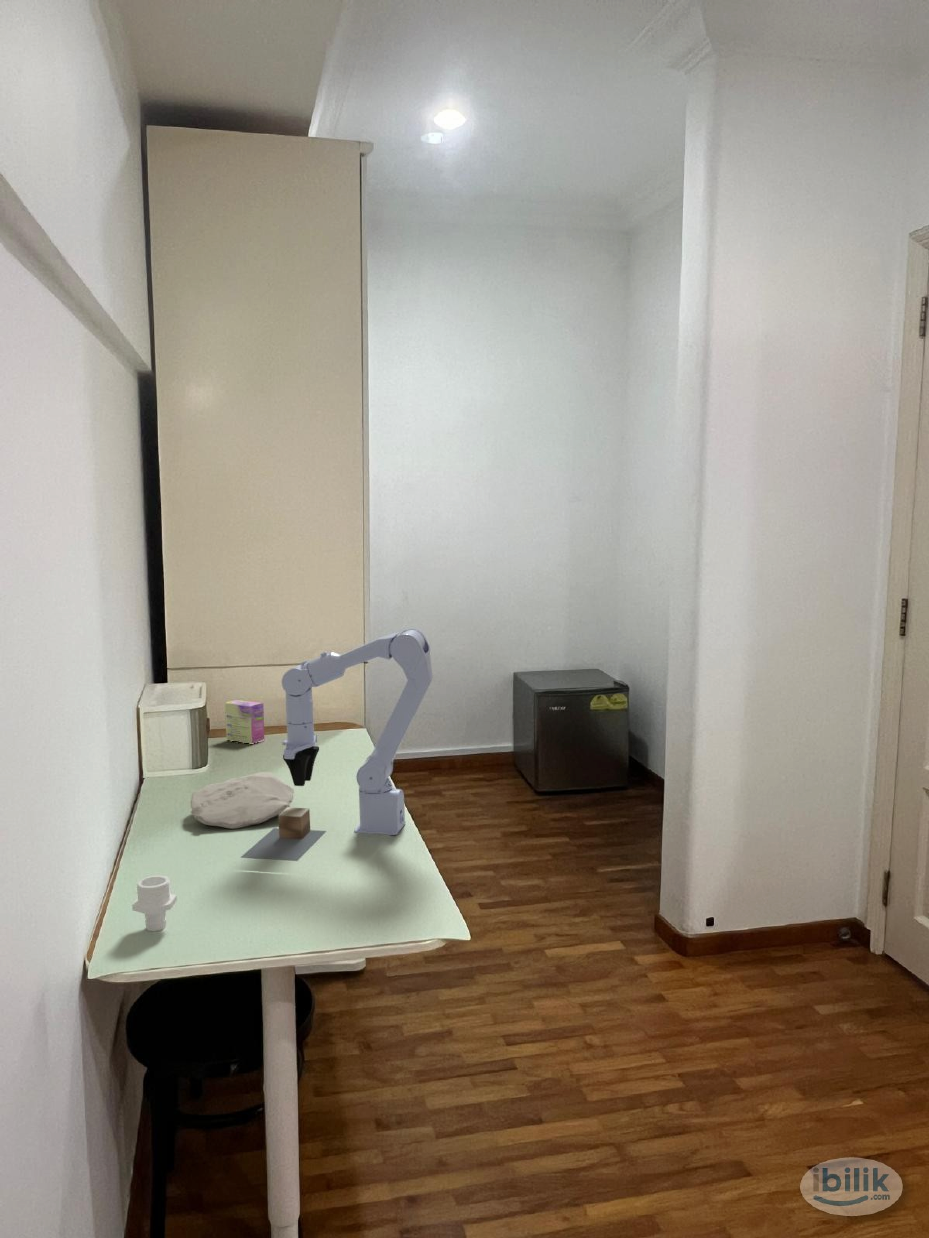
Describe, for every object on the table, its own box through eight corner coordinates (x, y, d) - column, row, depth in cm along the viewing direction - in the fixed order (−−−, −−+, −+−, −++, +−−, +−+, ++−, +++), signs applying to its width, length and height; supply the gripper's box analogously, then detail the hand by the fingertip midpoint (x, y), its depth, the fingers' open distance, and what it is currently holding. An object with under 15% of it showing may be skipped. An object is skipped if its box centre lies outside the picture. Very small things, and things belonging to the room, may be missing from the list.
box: (265, 740, 281) (263, 702, 280) (252, 745, 277) (250, 705, 275) (239, 737, 287) (237, 699, 285) (226, 741, 282) (224, 702, 280)
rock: (304, 787, 234) (288, 839, 204) (209, 790, 232) (180, 843, 203) (302, 757, 232) (286, 805, 203) (207, 760, 231) (177, 809, 202)
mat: (326, 832, 202) (326, 830, 202) (297, 861, 185) (297, 860, 185) (274, 829, 204) (273, 828, 204) (240, 858, 187) (240, 857, 187)
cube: (310, 830, 202) (309, 808, 201) (301, 839, 197) (300, 815, 196) (288, 829, 203) (287, 807, 202) (279, 837, 198) (278, 814, 197)
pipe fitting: (182, 929, 156) (179, 883, 156) (137, 939, 153) (134, 892, 152) (173, 915, 162) (170, 870, 161) (130, 924, 158) (127, 879, 157)
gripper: (295, 713, 210) (297, 772, 212) (269, 729, 196) (272, 792, 198) (325, 714, 209) (327, 773, 210) (301, 730, 195) (303, 793, 196)
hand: (302, 782), depth 204 cm, fingers open, 3 cm apart
